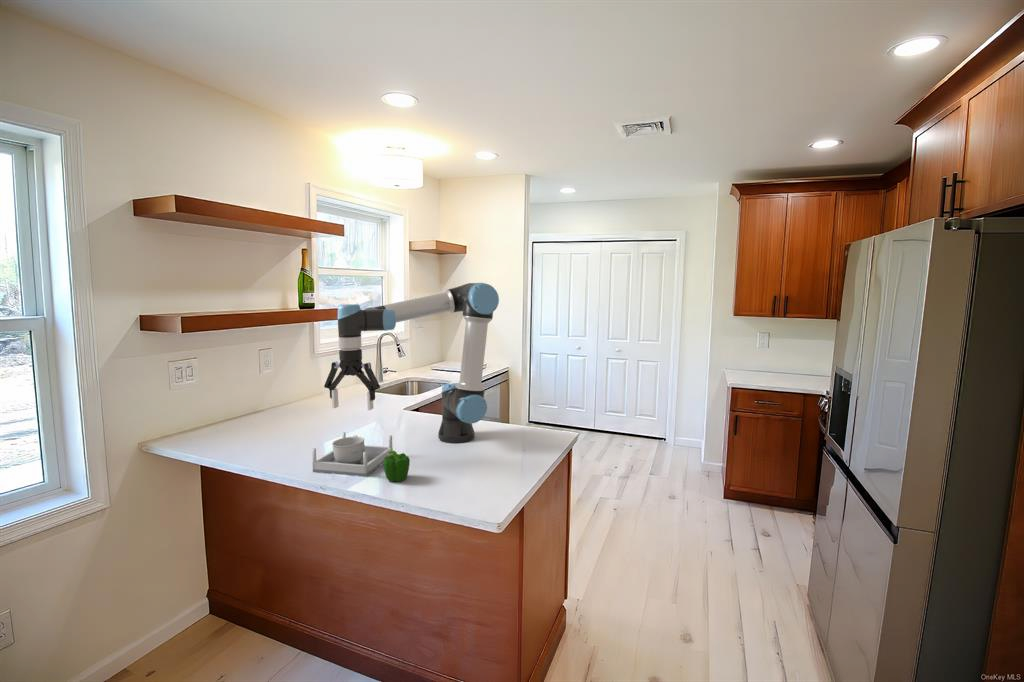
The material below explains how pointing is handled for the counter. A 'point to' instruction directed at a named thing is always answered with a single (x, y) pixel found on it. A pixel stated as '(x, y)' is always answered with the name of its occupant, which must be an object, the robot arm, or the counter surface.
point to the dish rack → (364, 467)
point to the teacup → (349, 449)
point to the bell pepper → (396, 466)
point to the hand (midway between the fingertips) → (352, 408)
